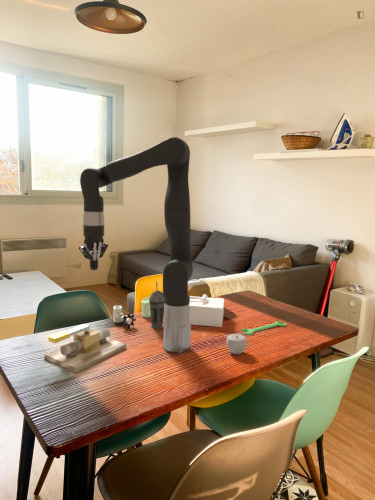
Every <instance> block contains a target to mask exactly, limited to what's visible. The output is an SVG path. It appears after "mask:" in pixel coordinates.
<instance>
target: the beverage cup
mask: <svg viewBox="0 0 375 500" xmlns="http://www.w3.org/2000/svg"><path fill="white" fill-rule="evenodd" d="M155 286H156V287H155V288H156V290H155V291H152V293H151V294H150V295H149V297H150V298H149V304H150V313H151V317H150V323H151V325H150V326H151V328H152V329H155V330H156V329H157V330H160V329H161V328H163V325H164V296H163V291H160V290H158V281H157V280H156V281H155Z"/></svg>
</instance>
